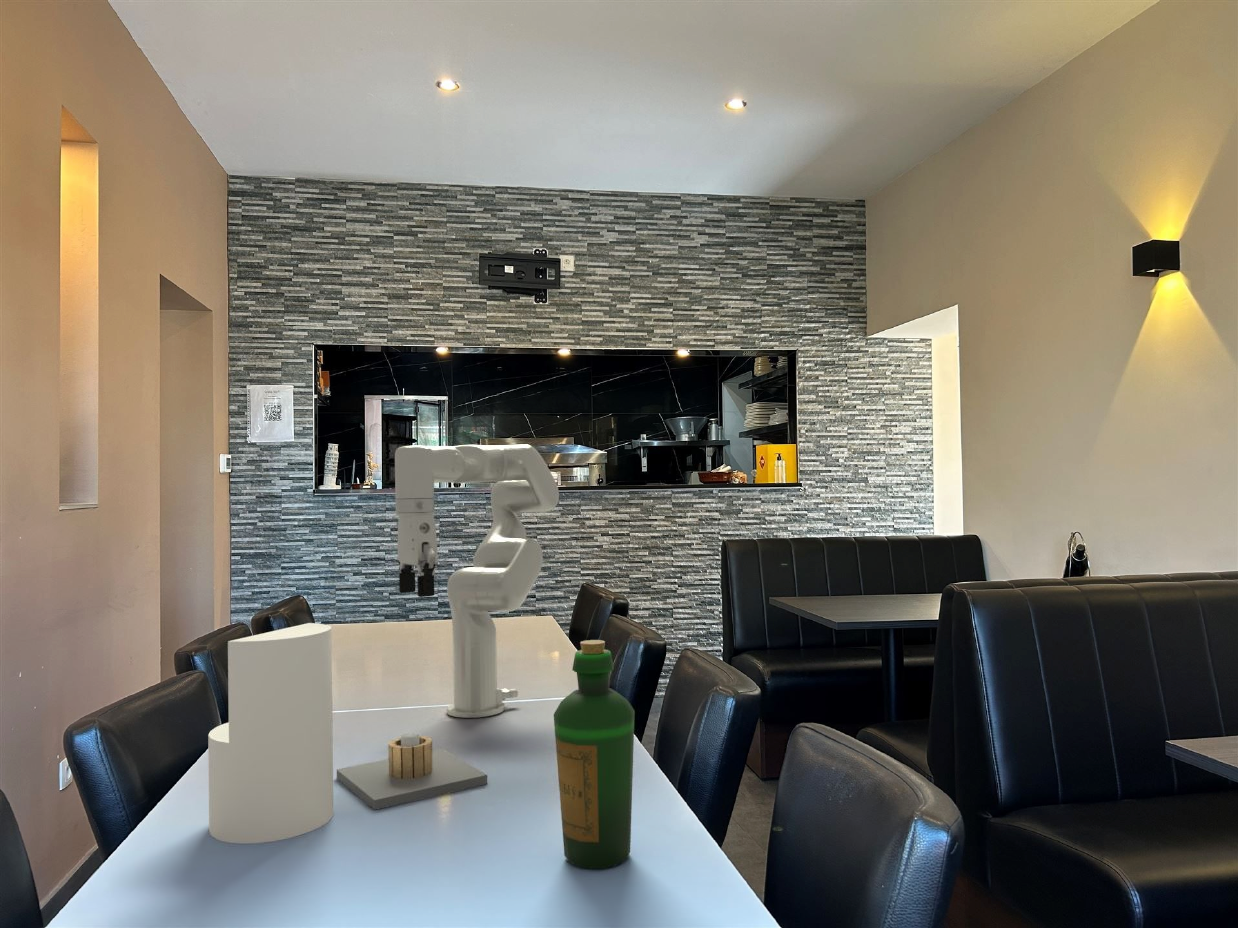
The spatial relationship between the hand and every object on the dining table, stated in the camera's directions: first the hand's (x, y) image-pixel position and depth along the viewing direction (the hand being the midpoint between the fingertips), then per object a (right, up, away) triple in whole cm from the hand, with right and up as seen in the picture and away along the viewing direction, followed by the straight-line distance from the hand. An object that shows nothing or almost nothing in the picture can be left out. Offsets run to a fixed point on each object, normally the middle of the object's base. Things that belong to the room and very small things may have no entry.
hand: (416, 594), depth 174 cm
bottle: (+37, -26, -59) cm, 75 cm away
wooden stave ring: (+5, -26, -27) cm, 38 cm away
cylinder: (-11, -28, -43) cm, 52 cm away
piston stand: (+5, -27, -27) cm, 39 cm away
